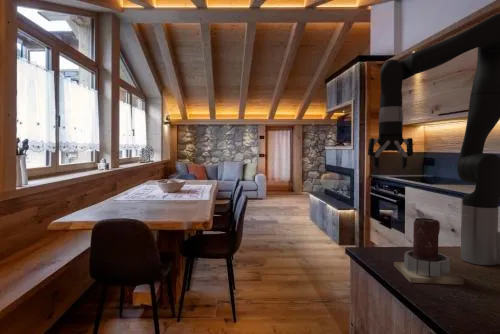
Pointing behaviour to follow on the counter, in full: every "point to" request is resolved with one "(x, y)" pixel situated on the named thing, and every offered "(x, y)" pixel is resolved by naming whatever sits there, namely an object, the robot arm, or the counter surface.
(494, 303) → the counter surface
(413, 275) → the stand
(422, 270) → the collar
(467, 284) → the counter surface
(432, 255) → the can
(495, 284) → the counter surface
